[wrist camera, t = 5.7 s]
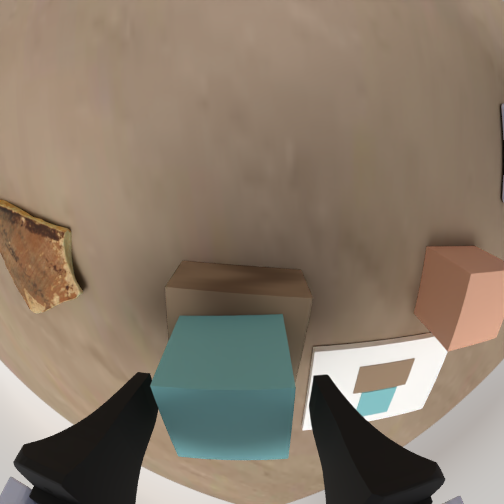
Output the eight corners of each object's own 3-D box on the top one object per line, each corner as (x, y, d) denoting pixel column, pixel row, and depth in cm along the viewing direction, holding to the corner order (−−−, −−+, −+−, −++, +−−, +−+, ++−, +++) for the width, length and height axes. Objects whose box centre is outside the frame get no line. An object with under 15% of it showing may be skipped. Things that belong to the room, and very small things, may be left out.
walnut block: (300, 268, 17) (313, 298, 13) (285, 360, 19) (290, 400, 15) (183, 259, 17) (165, 286, 13) (186, 352, 19) (173, 390, 15)
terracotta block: (474, 245, 16) (517, 268, 12) (460, 305, 18) (496, 337, 13) (425, 246, 16) (470, 273, 12) (413, 312, 18) (447, 351, 13)
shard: (-8, 192, 15) (-22, 196, 14) (44, 142, 15) (28, 142, 13) (41, 309, 18) (30, 319, 17) (101, 282, 18) (89, 293, 16)
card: (450, 328, 18) (454, 333, 18) (419, 404, 21) (422, 409, 20) (313, 346, 18) (315, 352, 18) (301, 425, 21) (302, 431, 21)
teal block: (282, 314, 13) (295, 387, 9) (280, 387, 15) (287, 458, 10) (179, 315, 13) (150, 385, 9) (193, 387, 15) (178, 456, 10)
